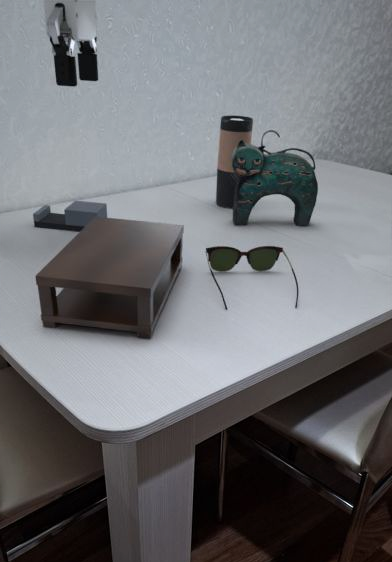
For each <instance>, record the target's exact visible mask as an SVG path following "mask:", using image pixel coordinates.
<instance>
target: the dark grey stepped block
mask: <svg viewBox="0 0 392 562" xmlns="http://www.w3.org/2000/svg"><path fill="white" fill-rule="evenodd" d="M107 205H108V204H107V203H106V202H93V201H83V200H74V201H73V202H71V204H70V205H68V206H67V207H66V208H65V209H64V212H63V213H59V212H57V213H56V212H52V210H51V205H50V204H49V205H48V204H44V205H43V206H41V207H40V208H39V209H37V210H35V212H33V213H32V219H33V225H34V226H33V227H34V228H41V229H42V228H44V229H52V230H61V231H72V232H80V231H81V230H82V229H83V228H84V227H85V226H87V225H88V224H89V223H90V222H91V221H92V220H93V219H94V218H95V217H105V218H108V206H107Z"/></svg>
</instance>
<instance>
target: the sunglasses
mask: <svg viewBox="0 0 392 562" xmlns="http://www.w3.org/2000/svg"><path fill="white" fill-rule="evenodd" d="M281 253H282V254H283V255H284V257H285V258H286V260H287V262H288V265H289V266H290V269H291V272H292V275H293V278H294V281H295V286H296V299H295V306H294V307H295V309H297V307H298V301H299V284H298V280H297V275H296V272H295V269H294V267H293V265H292V263H291V261H290V259H289V257H288V255H287V252H285V250H284V247H282V246H275V245H263V246H255V247H253V248H251V249H248V251H241V250H240V249H238V248H237V247H233V246H226V245H217V246H210V247H206V248H205V255H206V260H207V264H208V265H207V266H208V267H209V271H210V273H211V276H212V279H213V280H214V284H216V286H217V288H218V291H219V293H220V296H221V299H222V301H223V305H224V308H225V310H228V306H227V303H226V300H225V297H224V295H223V290H222V289H221V287H220V285H219V282H218V281H217V279H216V277H215V274H214V272H213V271H216V272H229V271H231V270H233V268H234V267H236V266H237V265H239V262H240V260H241V258H242V257H244V256H245V257H246V260H247V264H248V265H249V266H250V268H251V269H252V270H254V271H256V272H267V271H269V270H271V269H272V268H273V267H274V266H275V264H276V262H278V261H279V257H280V254H281Z"/></svg>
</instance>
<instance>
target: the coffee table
mask: <svg viewBox="0 0 392 562" xmlns="http://www.w3.org/2000/svg"><path fill="white" fill-rule="evenodd" d="M184 226H185V225H184V224H177V223H176V224H175V223H165V222H156V221H155V222H154V221H147V220H145V221H144V220H133V219H125V218H113V217H107V218H105V217H95V218H94V219H93V220H92V221H91V222H90V223H89V224H88V225H87V226H85V227H84V228H83V229H82V230H81V231H78V233H77V234H76V235H75V236H74V237H73V238H72V239H71V240H70V241H69V242H68V243H67V244H66V245H65V246H64V247H63V248H62V249H61V250H60V251H59V252H57V254H56V255H55V256H54V257H53V258H52V259H51V260H49V262H48V263H47V264H46V265H44V267H42V269H41V270H40V271H38V273H37V274H36V275H35V284H36V286H37V291H38V299H39V306H40V320H41V322H42V326H43V327H45V328H51V329H52V328H53V329H55V328H56V327H57V326H58V324H66V325H75V326H82V327H83V326H84V327H92V328H100V329H110V330H116V331H124V332H125V331H127V332H134V333H137V338H138V339H144V340H151V339H152V337H153V335H154V327H155V326H156V323H157V320H158V319H159V316H160V314H161V312H162V310H163V307H164V306H165V302H166V301H167V298H168V295H169V294H170V291H171V289H172V286H173V285H174V282H175V280H176V277H177V276H178V274H179V272H181V270H182V266H183V243H184V242H183V241H184V232H185V230H184V229H185V227H184ZM56 288H59V289H61V290H60V292H59V293H58V294H57V289H56Z"/></svg>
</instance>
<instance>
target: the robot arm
mask: <svg viewBox="0 0 392 562" xmlns="http://www.w3.org/2000/svg"><path fill="white" fill-rule="evenodd" d="M43 10H44V11H43V12H44V22H45V23H44V24H45V34H46V36H47V37H48V39H49V42H50V44H51V46H52V47H51V53H52V55H53V63H54V73H55V74H54V76H55V83H56V85H57V86H58V87H72V88H73V87H74V88H75V87H77V86H78V78H79V80H80V81H85V82H86V81H87V82H98V81H99V65H98V64H99V63H98V54H97V53H98V46H97V41H98V37H97V33H98V32H97V31H98V28H97V27H98V26H97V25H98V24H97V23H98V22H97V8H96V0H43ZM75 44H76V46H77V49H78V51H79V52H77V55H76V56H77V60H76V56H75V55H73V53H74V49H75ZM76 61H77V62H76ZM77 67H78V75H77Z"/></svg>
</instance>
